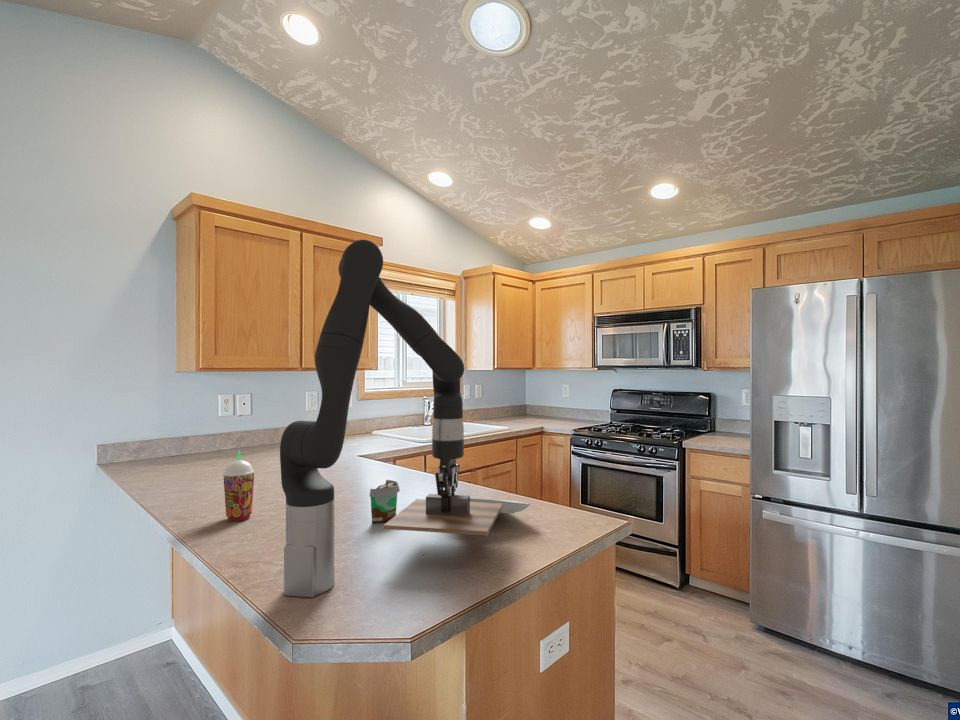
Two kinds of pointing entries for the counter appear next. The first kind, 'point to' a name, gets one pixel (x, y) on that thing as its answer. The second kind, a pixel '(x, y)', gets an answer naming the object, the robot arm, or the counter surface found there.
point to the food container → (384, 502)
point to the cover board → (447, 516)
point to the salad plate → (504, 504)
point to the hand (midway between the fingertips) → (447, 509)
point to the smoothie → (238, 489)
